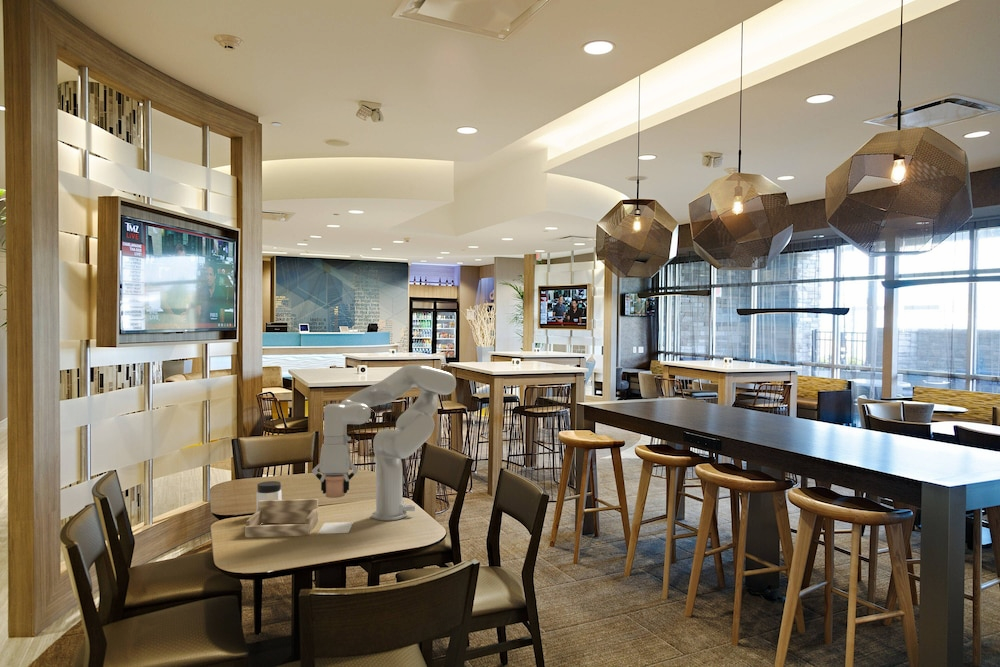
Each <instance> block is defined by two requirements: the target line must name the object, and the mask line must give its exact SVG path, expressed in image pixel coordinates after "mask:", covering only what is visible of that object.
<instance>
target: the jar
mask: <svg viewBox="0 0 1000 667" xmlns="http://www.w3.org/2000/svg"><path fill="white" fill-rule="evenodd" d="M256 485H257V487H256V488H257V491H256V494H255V496H256V499H255V500H256V511H257V510H258V501H259V500H283V498H282V496H283V495H282V484H281V482H280V481H276V480H274V481H273V480H271V481H269V480H268V481H262V482H258V483H257V484H256Z"/></svg>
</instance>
